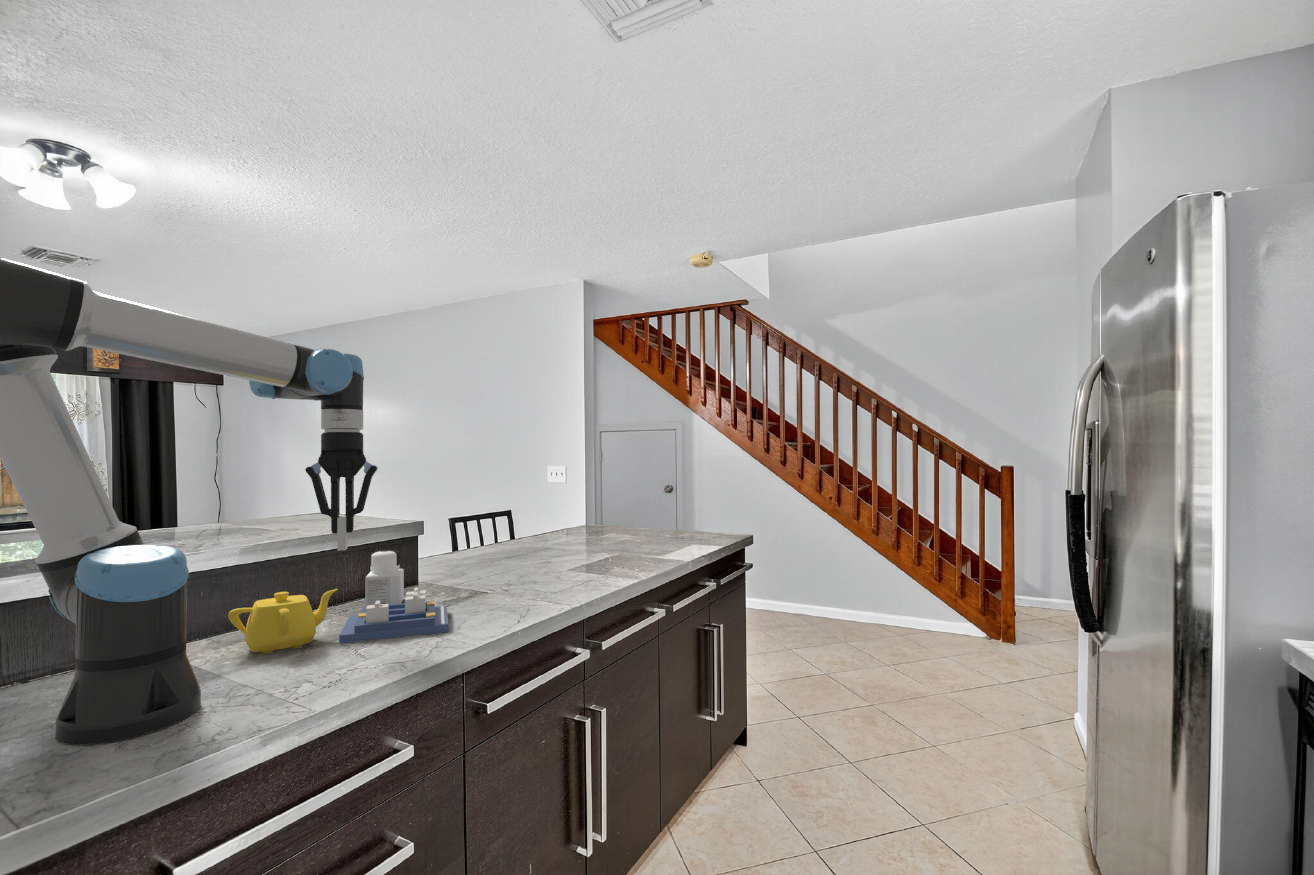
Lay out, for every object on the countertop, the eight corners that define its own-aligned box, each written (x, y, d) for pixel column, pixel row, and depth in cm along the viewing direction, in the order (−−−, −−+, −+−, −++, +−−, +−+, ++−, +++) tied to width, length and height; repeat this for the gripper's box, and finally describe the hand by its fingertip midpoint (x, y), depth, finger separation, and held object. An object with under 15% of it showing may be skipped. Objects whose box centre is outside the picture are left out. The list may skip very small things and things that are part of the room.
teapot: (284, 633, 123) (284, 583, 123) (338, 636, 120) (338, 585, 121) (223, 655, 110) (223, 599, 110) (283, 660, 107) (283, 602, 107)
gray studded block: (404, 618, 126) (405, 596, 126) (405, 615, 129) (405, 593, 129) (425, 616, 128) (425, 594, 128) (425, 613, 130) (425, 591, 130)
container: (370, 601, 149) (370, 549, 149) (403, 599, 151) (403, 547, 151) (365, 609, 141) (365, 554, 142) (400, 606, 144) (400, 552, 144)
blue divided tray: (339, 643, 116) (339, 626, 116) (350, 621, 131) (350, 607, 131) (448, 631, 123) (448, 616, 123) (446, 612, 138) (446, 598, 138)
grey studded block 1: (365, 629, 119) (365, 604, 119) (367, 625, 122) (367, 601, 122) (387, 626, 121) (387, 602, 121) (388, 623, 123) (388, 599, 123)
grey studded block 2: (406, 613, 131) (406, 591, 131) (406, 609, 134) (406, 588, 134) (425, 611, 132) (425, 589, 132) (425, 608, 135) (425, 586, 135)
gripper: (301, 430, 114) (301, 554, 114) (376, 430, 119) (376, 550, 118) (309, 432, 121) (309, 548, 121) (379, 432, 126) (380, 544, 125)
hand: (342, 549), depth 119 cm, fingers closed
